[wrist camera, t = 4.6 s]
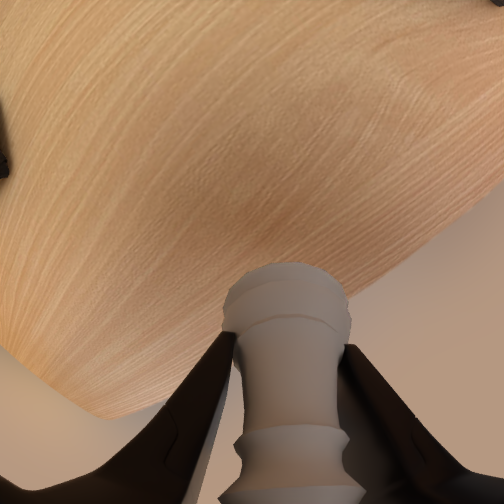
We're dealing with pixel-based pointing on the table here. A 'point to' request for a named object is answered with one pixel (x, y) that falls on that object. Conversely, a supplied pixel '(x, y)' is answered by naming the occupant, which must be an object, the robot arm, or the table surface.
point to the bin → (498, 2)
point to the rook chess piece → (289, 386)
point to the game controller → (3, 166)
